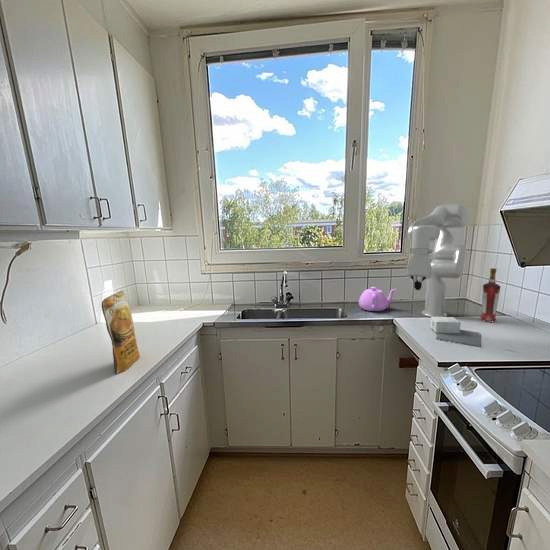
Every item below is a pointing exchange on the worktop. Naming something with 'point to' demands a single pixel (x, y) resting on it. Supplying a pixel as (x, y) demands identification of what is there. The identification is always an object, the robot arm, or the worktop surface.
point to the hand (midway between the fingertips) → (417, 289)
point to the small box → (445, 325)
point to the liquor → (490, 298)
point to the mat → (461, 337)
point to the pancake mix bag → (120, 331)
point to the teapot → (374, 299)
